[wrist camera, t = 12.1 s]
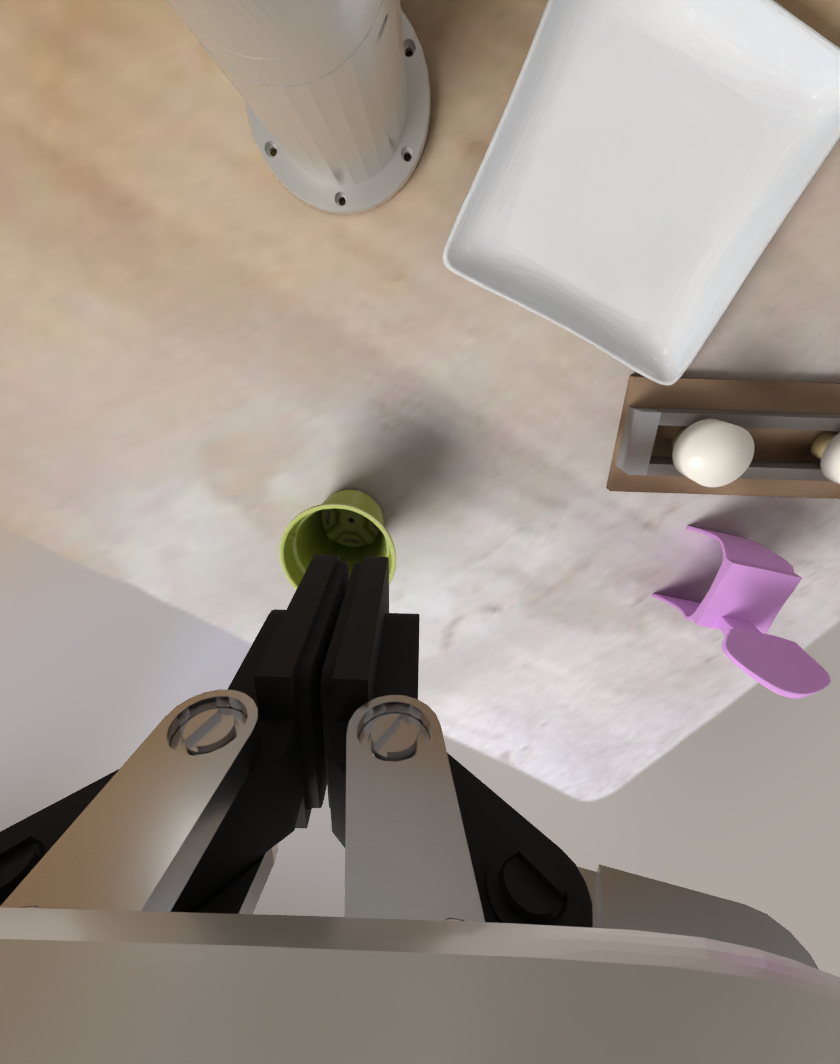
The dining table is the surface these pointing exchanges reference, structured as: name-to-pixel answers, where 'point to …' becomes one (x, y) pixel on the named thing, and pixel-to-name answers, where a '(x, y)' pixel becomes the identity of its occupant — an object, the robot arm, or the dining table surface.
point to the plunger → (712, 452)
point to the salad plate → (647, 168)
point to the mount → (756, 405)
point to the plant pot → (336, 534)
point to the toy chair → (754, 616)
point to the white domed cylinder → (828, 455)
